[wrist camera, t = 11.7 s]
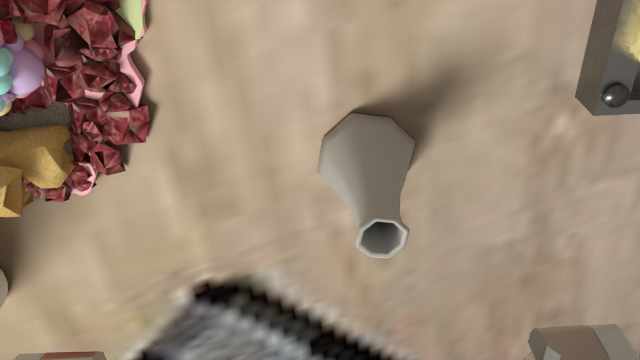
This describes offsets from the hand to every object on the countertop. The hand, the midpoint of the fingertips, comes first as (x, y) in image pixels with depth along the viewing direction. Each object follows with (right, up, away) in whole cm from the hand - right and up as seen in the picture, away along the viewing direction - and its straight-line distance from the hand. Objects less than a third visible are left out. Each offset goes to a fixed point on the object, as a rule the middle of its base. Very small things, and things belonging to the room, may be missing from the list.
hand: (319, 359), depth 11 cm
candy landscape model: (-23, +13, +26) cm, 37 cm away
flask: (+3, +6, +32) cm, 32 cm away
